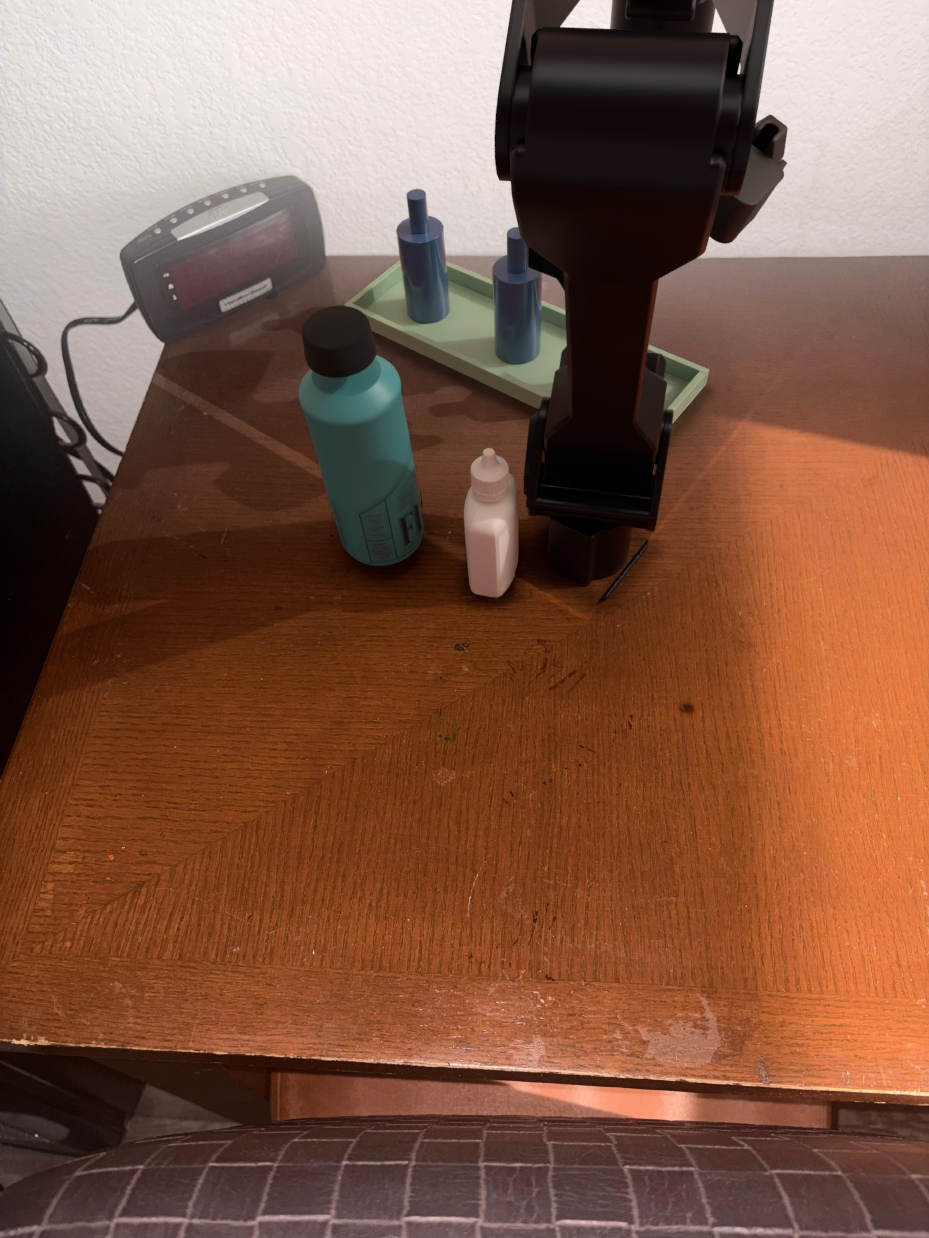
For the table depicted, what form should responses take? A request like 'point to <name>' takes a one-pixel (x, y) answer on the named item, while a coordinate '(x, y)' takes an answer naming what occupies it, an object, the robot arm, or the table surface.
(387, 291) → the tray
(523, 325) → the blue bottle middle
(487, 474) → the eye dropper bottle
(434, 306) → the blue bottle back
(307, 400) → the beverage bottle
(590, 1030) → the table surface
